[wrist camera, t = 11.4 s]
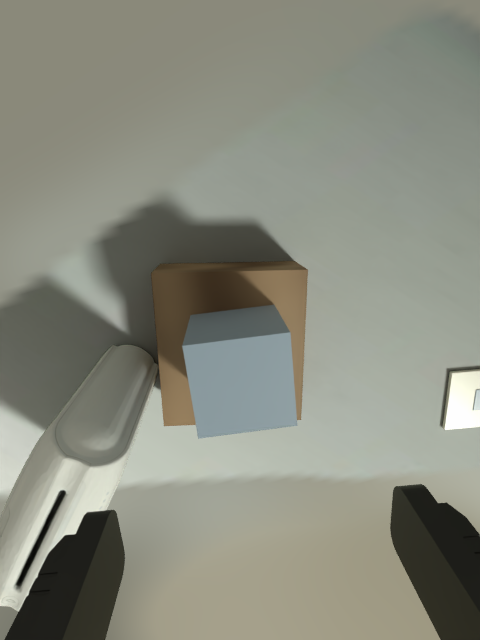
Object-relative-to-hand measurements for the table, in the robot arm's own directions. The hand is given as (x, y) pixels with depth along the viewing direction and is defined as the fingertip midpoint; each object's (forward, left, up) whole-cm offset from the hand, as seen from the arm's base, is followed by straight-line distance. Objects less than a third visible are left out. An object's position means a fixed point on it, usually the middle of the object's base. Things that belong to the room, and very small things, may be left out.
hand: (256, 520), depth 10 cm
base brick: (0, 0, -16) cm, 16 cm away
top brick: (0, 0, -12) cm, 12 cm away
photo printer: (+9, +5, -16) cm, 19 cm away
